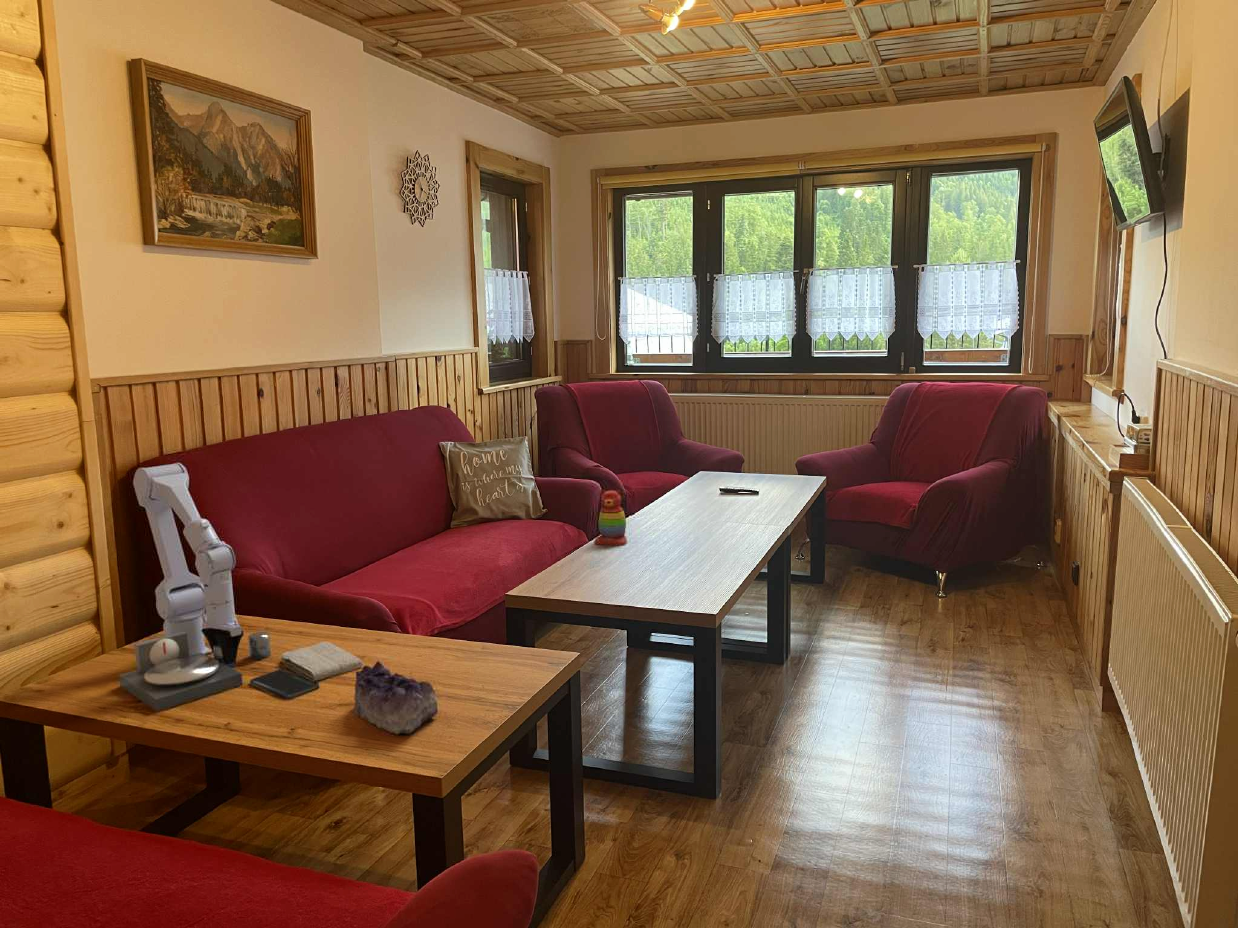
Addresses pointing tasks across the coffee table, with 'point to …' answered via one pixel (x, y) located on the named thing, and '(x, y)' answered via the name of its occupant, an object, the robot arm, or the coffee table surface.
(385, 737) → the coffee table surface
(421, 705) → the geode
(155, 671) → the pan
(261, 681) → the phone
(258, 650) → the cylinder
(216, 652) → the cylinder
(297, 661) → the washcloth
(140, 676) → the scale
